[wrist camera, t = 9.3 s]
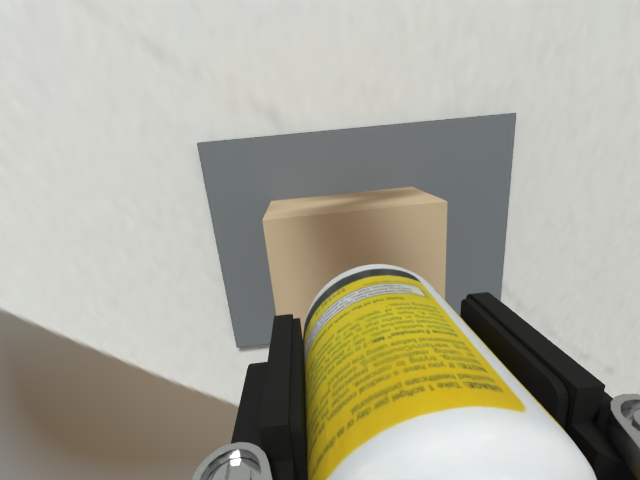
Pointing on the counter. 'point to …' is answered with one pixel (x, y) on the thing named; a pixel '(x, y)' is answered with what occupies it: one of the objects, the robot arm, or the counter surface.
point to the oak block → (351, 240)
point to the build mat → (359, 176)
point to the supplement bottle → (417, 391)
